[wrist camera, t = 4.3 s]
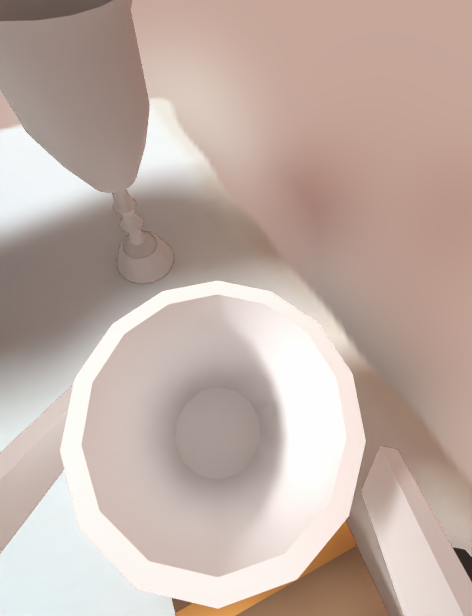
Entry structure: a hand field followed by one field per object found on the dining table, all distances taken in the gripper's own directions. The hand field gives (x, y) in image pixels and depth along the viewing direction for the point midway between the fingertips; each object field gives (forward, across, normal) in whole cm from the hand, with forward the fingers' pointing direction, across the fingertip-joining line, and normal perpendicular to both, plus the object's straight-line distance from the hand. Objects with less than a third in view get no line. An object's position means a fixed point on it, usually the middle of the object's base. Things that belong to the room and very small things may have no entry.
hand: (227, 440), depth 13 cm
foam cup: (+7, -1, -6) cm, 9 cm away
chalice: (+16, -10, +4) cm, 19 cm away
